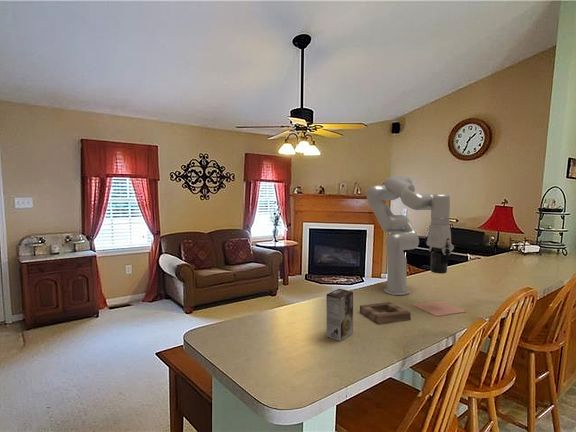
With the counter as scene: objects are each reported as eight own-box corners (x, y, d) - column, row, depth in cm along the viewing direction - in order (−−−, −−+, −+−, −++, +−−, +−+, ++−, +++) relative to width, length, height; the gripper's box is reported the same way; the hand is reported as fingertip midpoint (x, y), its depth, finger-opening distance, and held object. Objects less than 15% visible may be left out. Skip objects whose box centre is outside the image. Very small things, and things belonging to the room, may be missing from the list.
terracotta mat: (411, 305, 163) (411, 304, 163) (439, 301, 168) (439, 300, 168) (436, 316, 148) (436, 315, 148) (466, 312, 153) (466, 311, 153)
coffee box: (338, 329, 135) (338, 288, 134) (353, 333, 131) (353, 291, 130) (325, 337, 128) (325, 293, 127) (341, 341, 124) (341, 296, 123)
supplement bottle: (448, 274, 153) (449, 247, 152) (432, 273, 154) (432, 246, 153) (445, 270, 159) (445, 244, 159) (429, 270, 161) (429, 244, 160)
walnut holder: (359, 312, 154) (359, 305, 154) (389, 308, 159) (389, 301, 158) (378, 324, 140) (378, 316, 139) (410, 319, 144) (410, 312, 144)
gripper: (419, 220, 162) (418, 258, 164) (447, 224, 146) (446, 266, 147) (433, 220, 165) (432, 257, 166) (462, 223, 148) (460, 265, 149)
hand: (438, 261), depth 156 cm, fingers closed on supplement bottle, 6 cm apart
